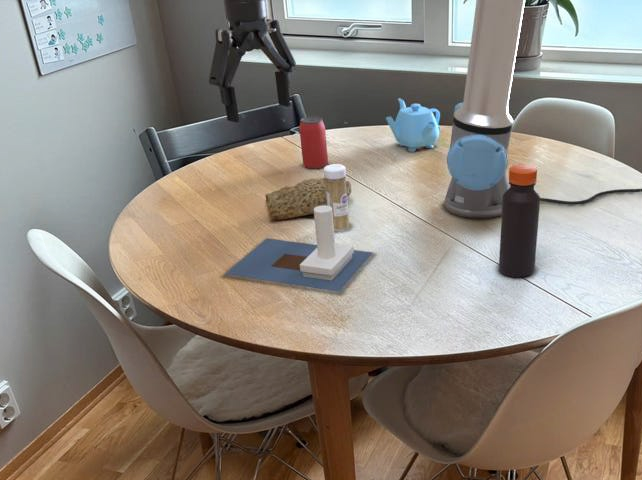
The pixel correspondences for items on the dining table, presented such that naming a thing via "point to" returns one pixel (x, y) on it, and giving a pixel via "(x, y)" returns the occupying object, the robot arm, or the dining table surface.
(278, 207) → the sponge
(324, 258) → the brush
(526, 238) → the vinegar
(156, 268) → the dining table surface
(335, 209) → the sprinkles bottle
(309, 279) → the mat
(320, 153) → the beer can
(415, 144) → the teapot
